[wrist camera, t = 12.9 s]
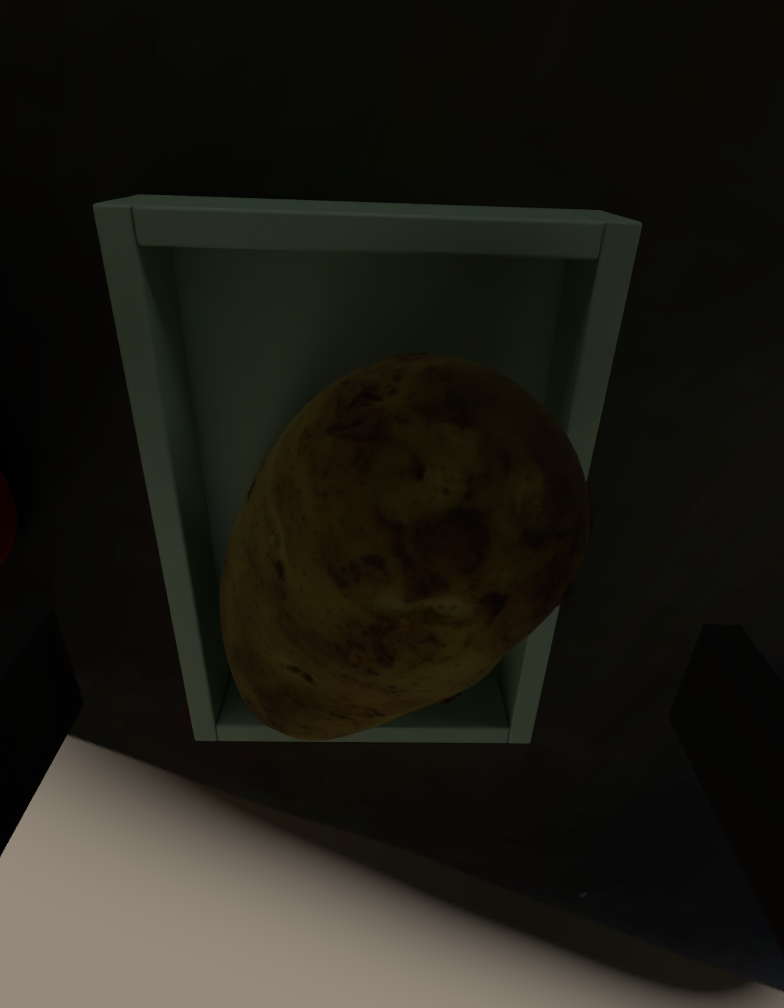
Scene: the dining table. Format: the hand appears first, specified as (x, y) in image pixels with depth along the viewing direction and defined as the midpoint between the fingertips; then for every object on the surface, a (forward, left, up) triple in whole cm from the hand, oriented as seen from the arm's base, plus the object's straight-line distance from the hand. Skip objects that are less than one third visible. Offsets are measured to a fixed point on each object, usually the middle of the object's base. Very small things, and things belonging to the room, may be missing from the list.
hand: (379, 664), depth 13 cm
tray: (0, 0, -8) cm, 8 cm away
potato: (+1, 0, -7) cm, 7 cm away
